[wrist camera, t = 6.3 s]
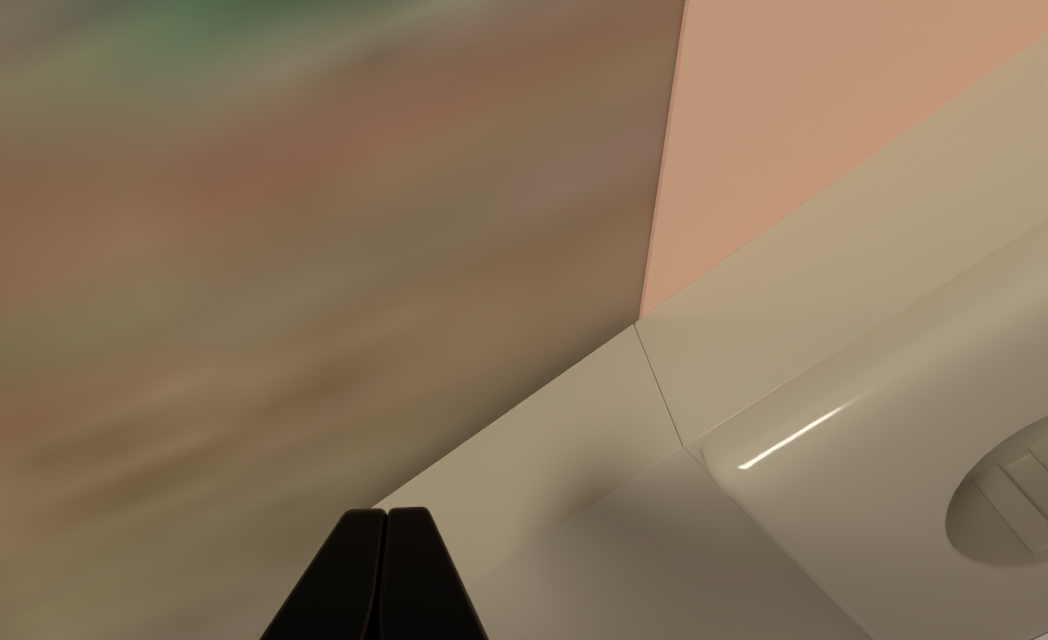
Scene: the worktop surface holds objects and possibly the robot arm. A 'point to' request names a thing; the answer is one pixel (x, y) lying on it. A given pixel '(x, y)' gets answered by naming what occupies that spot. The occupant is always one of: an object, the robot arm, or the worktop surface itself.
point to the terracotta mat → (803, 107)
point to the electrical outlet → (799, 422)
